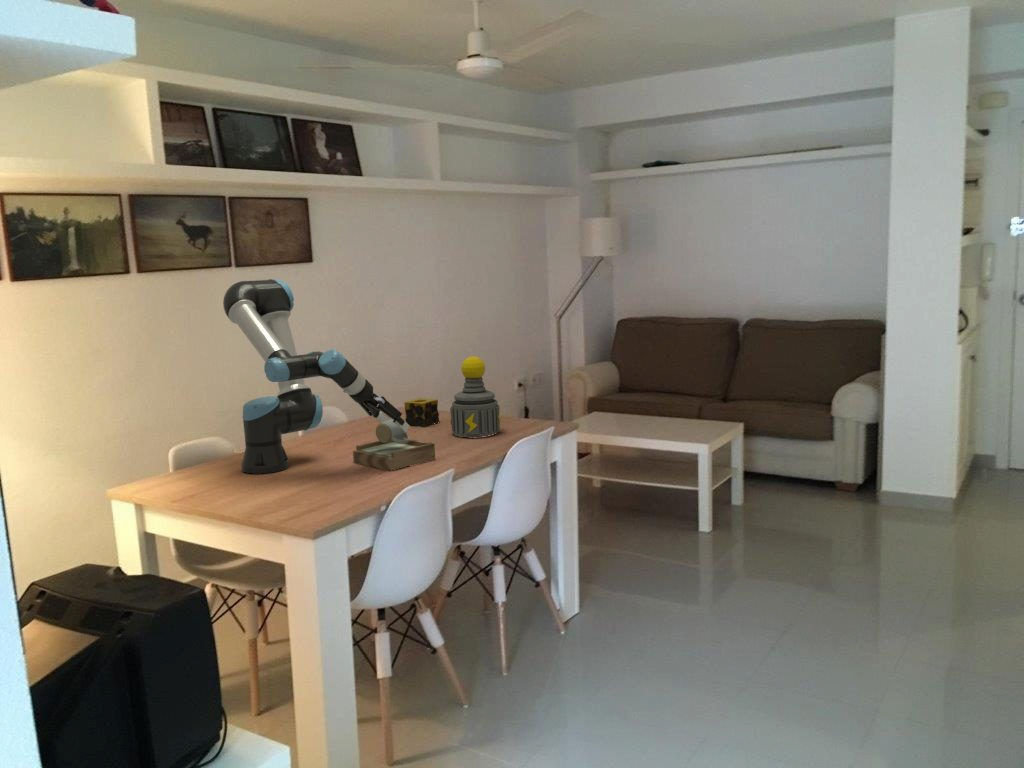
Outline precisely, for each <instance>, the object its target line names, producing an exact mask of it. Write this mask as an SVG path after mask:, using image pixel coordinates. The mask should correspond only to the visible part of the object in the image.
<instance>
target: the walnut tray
mask: <svg viewBox="0 0 1024 768" xmlns="http://www.w3.org/2000/svg"><path fill="white" fill-rule="evenodd" d="M402 440H406V438H404V439H402ZM352 456H353V457H352V458H353V463H354V462H355V464H358V463H359V465H362V464H363V466H368V467H371V466H372V467H373V468H375V467H377V468H376V469H380V468H381V469H380V470H384V469H386V470H385V471H389V470H390V472H393V471H392V470H394V471H397V470H396V469H398V470H400V469H399V468H402V469H404V468H403V467H405V468H407V467H406V466H409V467H411V466H410V465H413V466H415V465H414V464H417V465H419V464H418V463H420V464H423V463H422V462H424V463H428V462H431V461H435V460H436V446H435V443H433V442H428V441H424V440H417V439H411V438H409V440H408V442H407V443H406V444H399V443H396V442H391V443H382V442H380V441H379V440H374V441H371V442H367V443H363V444H358V445H356V446H355V450H353V451H352ZM427 461H428V462H427Z"/></svg>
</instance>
